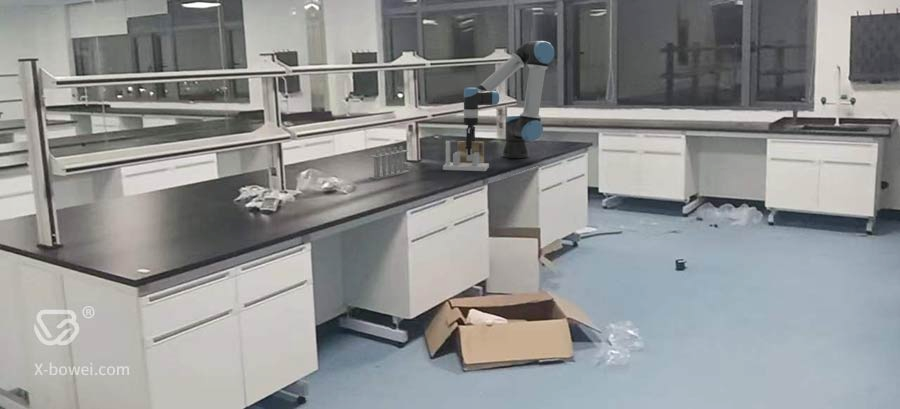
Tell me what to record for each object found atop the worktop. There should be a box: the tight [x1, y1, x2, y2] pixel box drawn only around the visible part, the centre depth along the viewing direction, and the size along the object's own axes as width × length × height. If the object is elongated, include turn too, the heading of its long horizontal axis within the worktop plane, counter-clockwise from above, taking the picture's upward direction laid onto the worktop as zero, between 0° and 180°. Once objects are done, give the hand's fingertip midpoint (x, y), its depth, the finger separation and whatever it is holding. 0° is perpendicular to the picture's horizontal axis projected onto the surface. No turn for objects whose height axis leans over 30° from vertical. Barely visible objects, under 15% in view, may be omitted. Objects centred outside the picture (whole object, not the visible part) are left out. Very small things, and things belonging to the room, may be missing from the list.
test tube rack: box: [369, 146, 410, 180], centre depth 371 cm, size 25×4×13 cm, turn 145°
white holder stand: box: [442, 140, 490, 172], centre depth 389 cm, size 12×22×14 cm, turn 79°
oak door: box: [456, 140, 485, 163], centre depth 403 cm, size 4×14×12 cm, turn 79°
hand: (470, 159), depth 405 cm, fingers open, 9 cm apart
